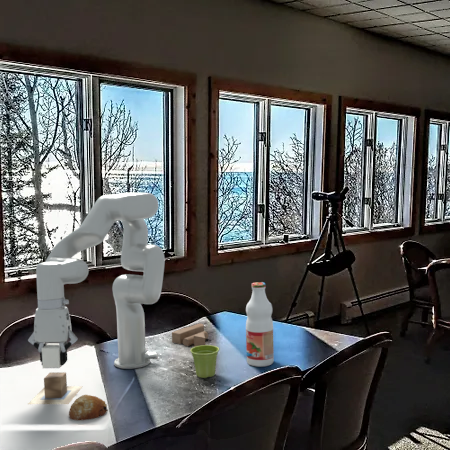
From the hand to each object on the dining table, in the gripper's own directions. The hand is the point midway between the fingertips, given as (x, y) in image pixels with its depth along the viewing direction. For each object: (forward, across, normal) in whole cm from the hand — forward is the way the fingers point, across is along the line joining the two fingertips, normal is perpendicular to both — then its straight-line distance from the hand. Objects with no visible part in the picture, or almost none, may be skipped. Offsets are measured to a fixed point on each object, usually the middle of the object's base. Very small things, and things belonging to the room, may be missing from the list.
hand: (53, 363), depth 172 cm
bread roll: (+11, -14, +12) cm, 22 cm away
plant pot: (+11, -43, -20) cm, 49 cm away
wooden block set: (+11, -38, -60) cm, 72 cm away
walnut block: (+10, 0, 0) cm, 10 cm away
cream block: (+1, 0, 0) cm, 1 cm away
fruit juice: (+11, -61, -32) cm, 70 cm away
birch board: (+11, 0, 0) cm, 11 cm away
